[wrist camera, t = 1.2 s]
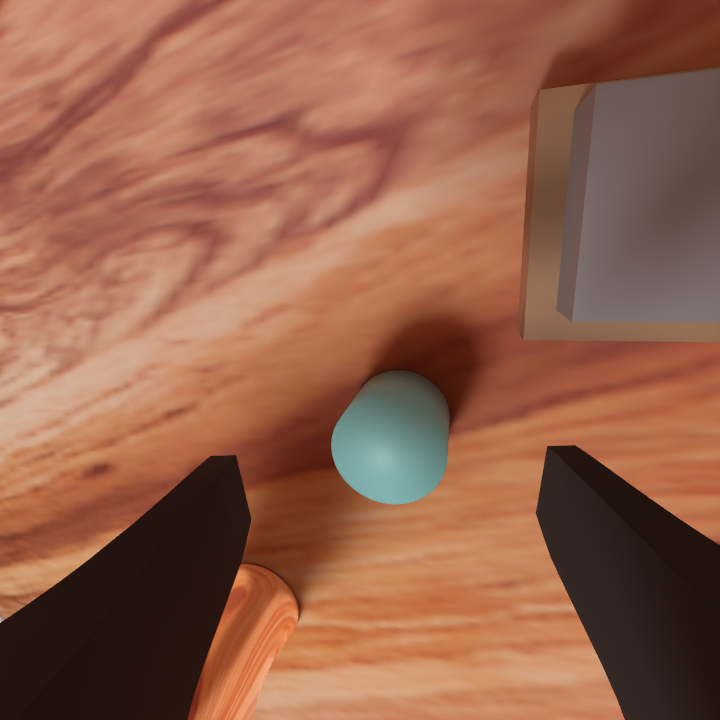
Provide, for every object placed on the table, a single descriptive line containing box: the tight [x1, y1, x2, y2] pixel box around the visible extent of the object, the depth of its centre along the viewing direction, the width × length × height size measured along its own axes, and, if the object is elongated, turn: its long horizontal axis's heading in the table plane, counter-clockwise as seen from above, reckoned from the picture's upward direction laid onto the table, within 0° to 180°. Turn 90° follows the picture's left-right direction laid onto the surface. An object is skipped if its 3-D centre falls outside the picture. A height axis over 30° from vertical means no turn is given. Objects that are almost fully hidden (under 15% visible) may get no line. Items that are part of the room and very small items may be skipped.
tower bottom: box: [518, 66, 720, 342], centre depth 15 cm, size 9×9×2 cm
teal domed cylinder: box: [331, 370, 450, 504], centre depth 19 cm, size 5×5×4 cm
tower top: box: [556, 69, 720, 323], centre depth 13 cm, size 7×7×2 cm
